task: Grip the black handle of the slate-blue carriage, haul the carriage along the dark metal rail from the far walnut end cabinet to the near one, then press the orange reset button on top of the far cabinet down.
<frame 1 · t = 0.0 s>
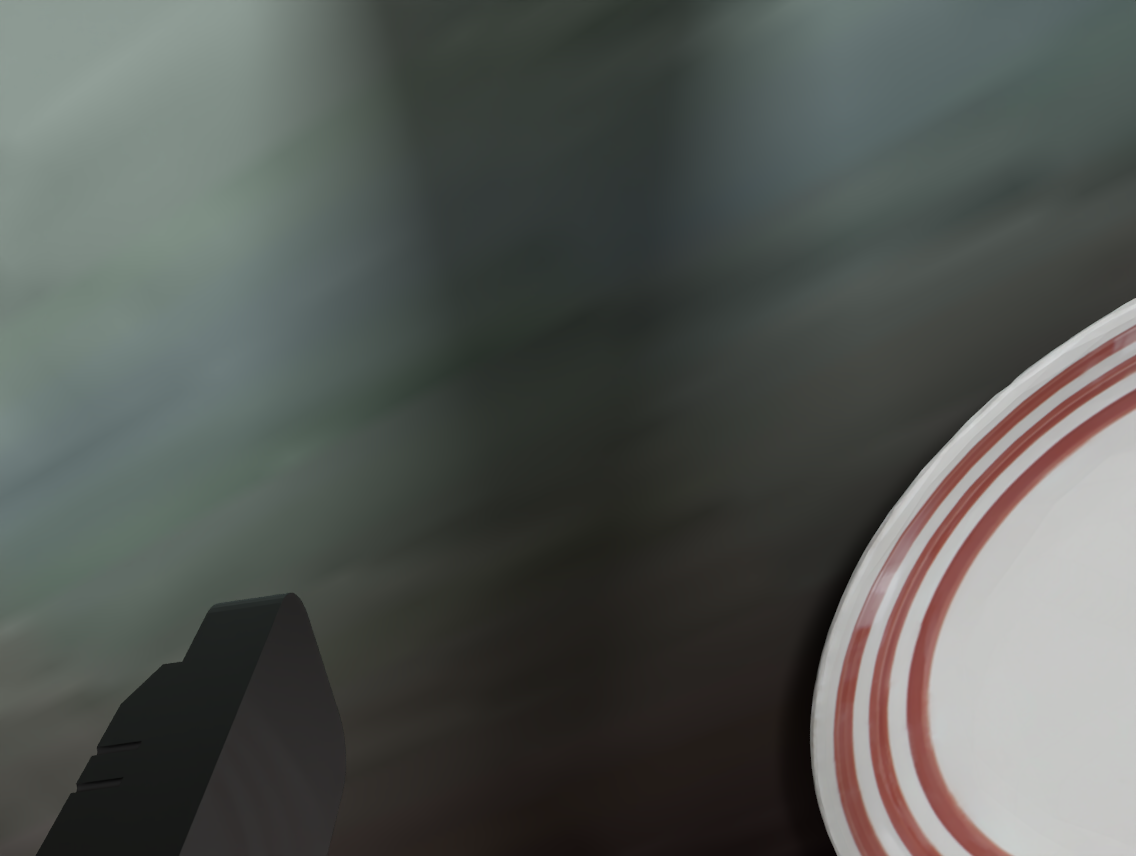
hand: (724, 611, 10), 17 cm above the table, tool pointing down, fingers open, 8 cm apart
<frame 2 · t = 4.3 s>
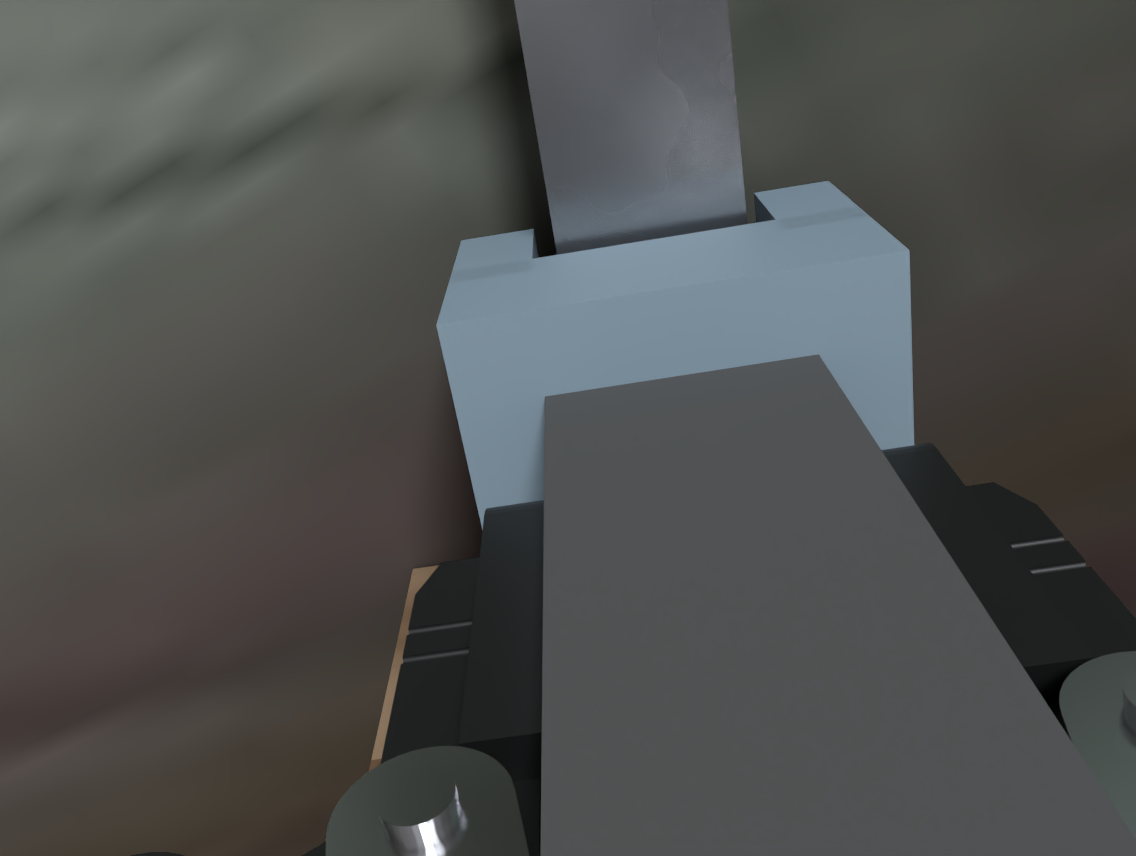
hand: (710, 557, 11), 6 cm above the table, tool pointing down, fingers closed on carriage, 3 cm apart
carriage: (717, 578, 11), point 6 cm above the table, slide at 0.0 cm, touching gripper
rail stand: (613, 11, 14), on the table
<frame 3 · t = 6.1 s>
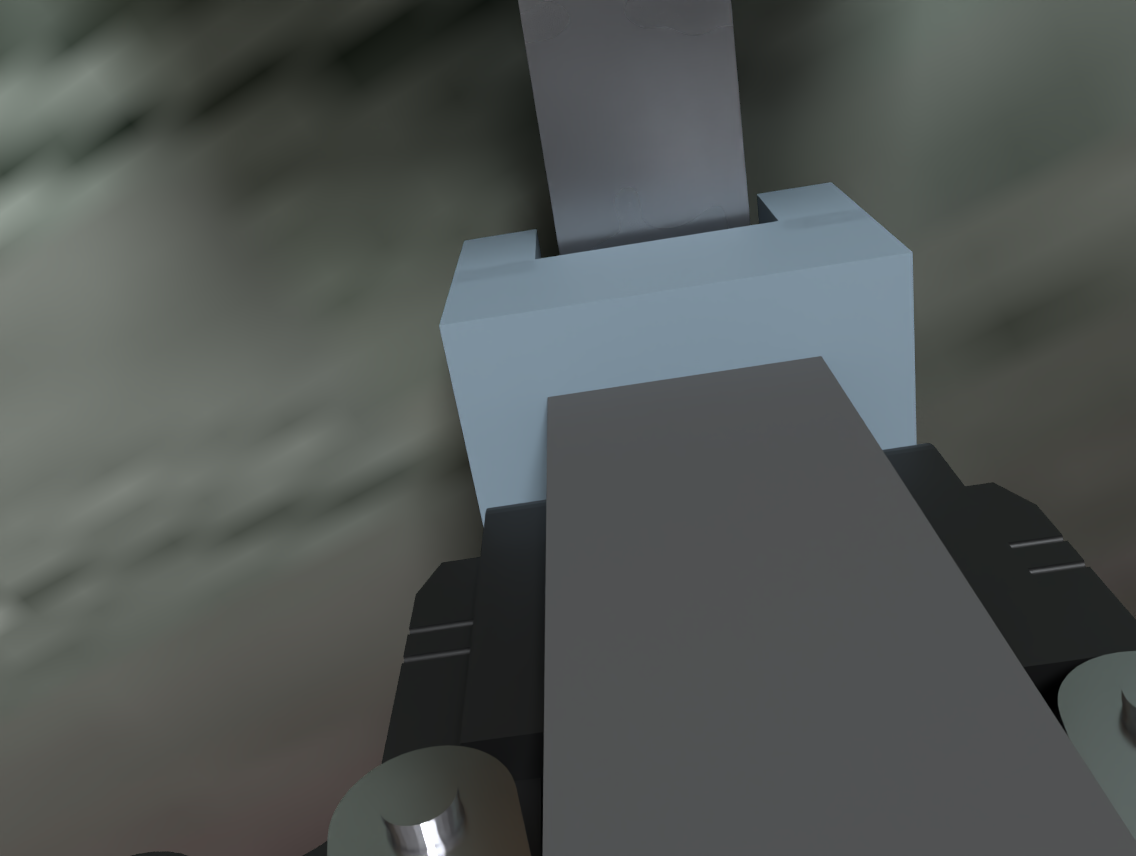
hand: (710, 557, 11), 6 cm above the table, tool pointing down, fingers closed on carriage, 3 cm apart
carriage: (719, 580, 11), point 6 cm above the table, slide at 5.6 cm, touching gripper
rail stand: (667, 396, 16), on the table
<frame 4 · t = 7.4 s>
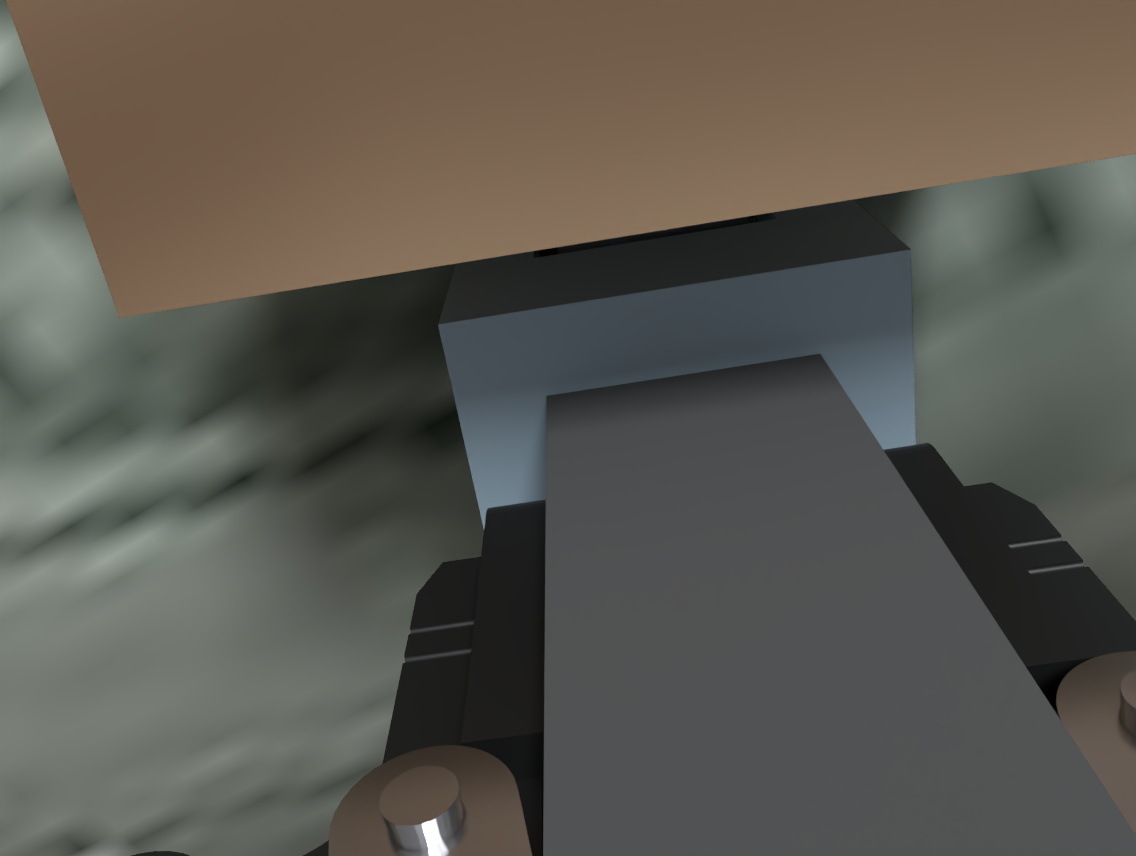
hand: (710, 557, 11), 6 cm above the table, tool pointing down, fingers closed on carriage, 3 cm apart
carriage: (719, 578, 11), point 6 cm above the table, slide at 11.2 cm, touching gripper
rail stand: (703, 682, 19), on the table
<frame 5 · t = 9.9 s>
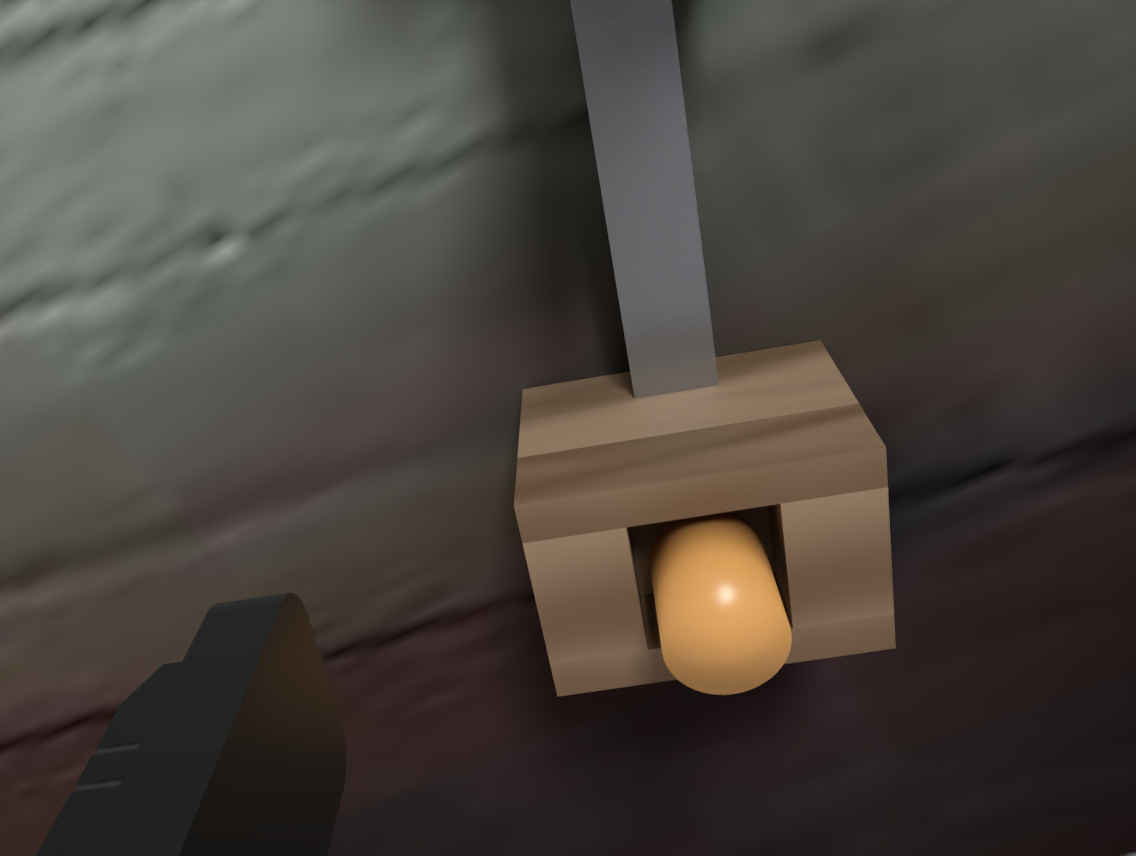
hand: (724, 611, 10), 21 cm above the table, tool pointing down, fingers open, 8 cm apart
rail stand: (630, 92, 28), on the table
reset button: (716, 599, 26), point 8 cm above the table, slide at 0.0 cm
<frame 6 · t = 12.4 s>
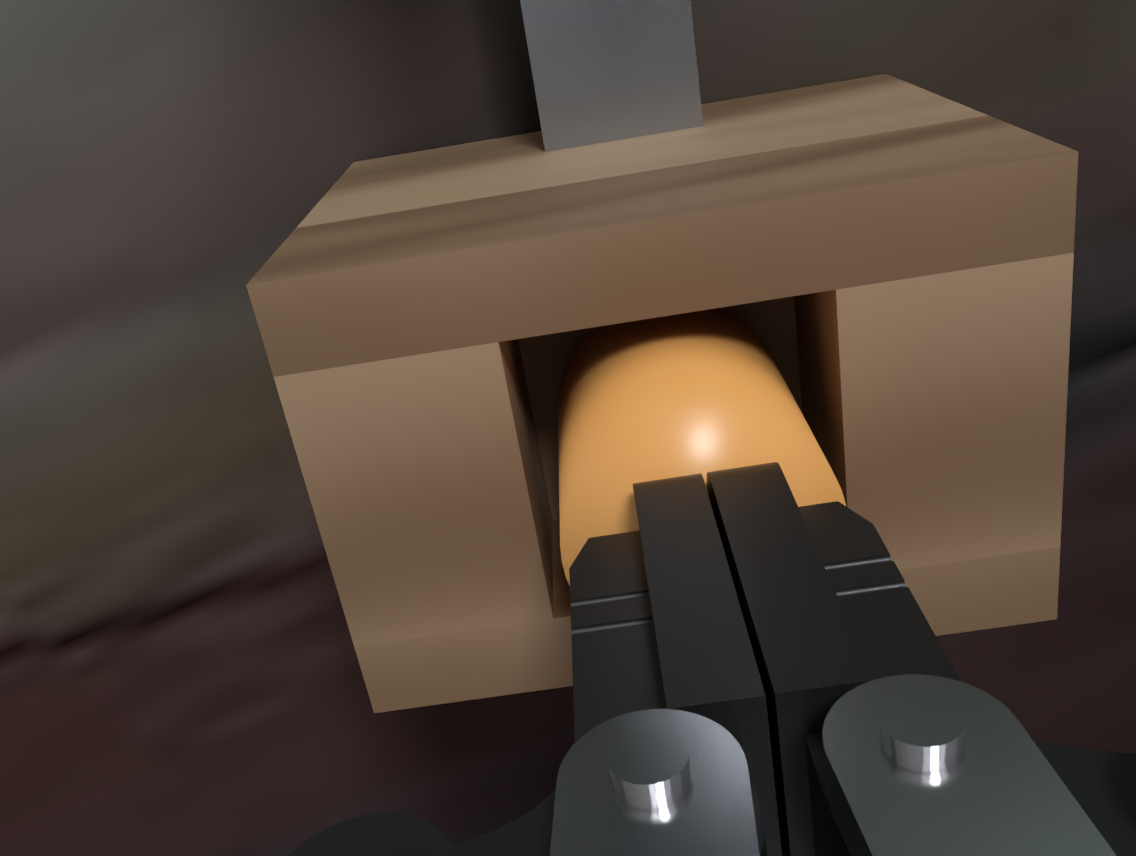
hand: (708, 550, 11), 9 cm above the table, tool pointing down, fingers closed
reset button: (684, 465, 13), point 7 cm above the table, slide at 0.9 cm, touching gripper
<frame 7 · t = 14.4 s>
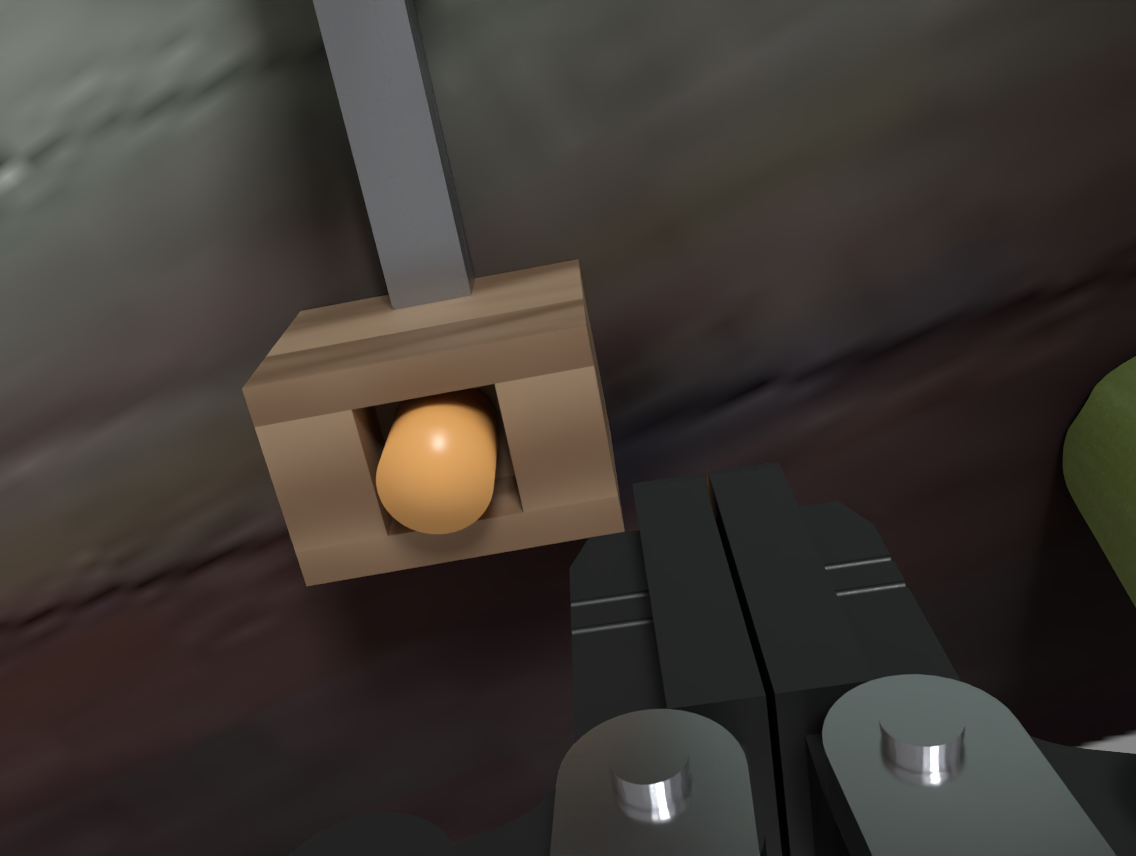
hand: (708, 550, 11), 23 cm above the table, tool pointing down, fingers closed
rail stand: (374, 18, 30), on the table
reset button: (441, 454, 29), point 6 cm above the table, slide at 1.4 cm
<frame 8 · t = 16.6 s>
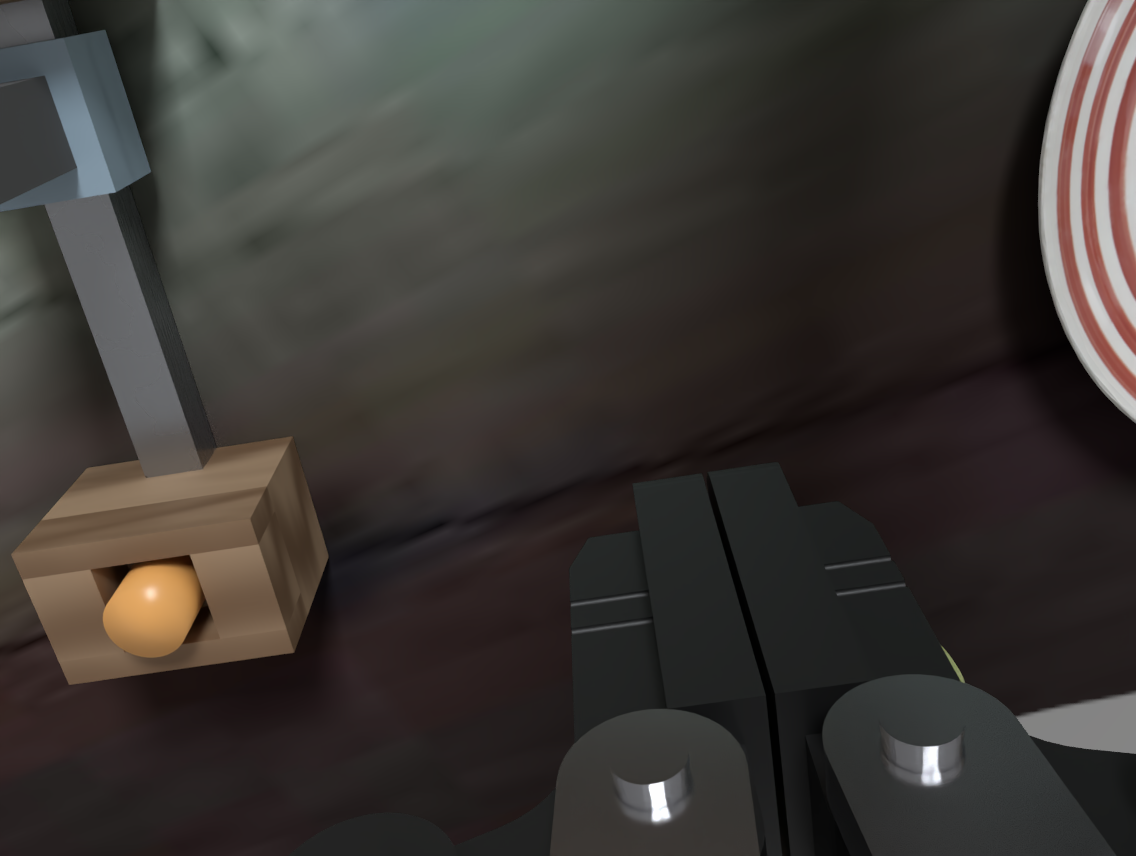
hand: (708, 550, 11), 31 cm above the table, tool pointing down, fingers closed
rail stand: (126, 271, 41), on the table
reset button: (160, 597, 40), point 6 cm above the table, slide at 1.4 cm
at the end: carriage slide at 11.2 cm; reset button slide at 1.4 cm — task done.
